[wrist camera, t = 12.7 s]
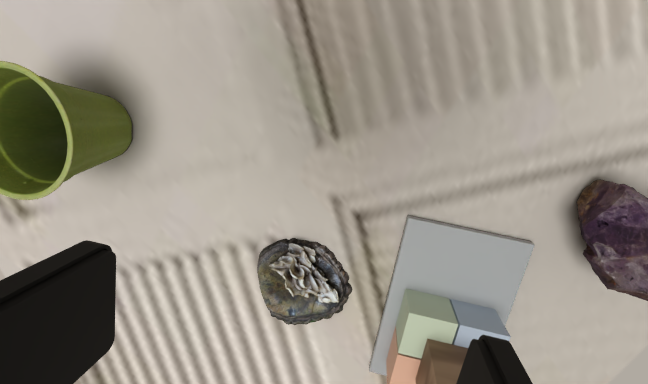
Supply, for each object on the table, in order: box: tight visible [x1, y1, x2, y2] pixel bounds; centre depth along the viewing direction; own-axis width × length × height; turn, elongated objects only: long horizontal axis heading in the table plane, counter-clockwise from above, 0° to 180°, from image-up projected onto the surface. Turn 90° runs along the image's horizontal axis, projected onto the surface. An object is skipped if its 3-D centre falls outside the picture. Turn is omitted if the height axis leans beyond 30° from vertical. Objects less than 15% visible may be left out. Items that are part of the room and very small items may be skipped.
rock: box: [577, 179, 648, 301], centre depth 32 cm, size 12×9×10 cm
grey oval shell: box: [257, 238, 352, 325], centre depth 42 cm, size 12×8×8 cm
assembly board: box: [369, 215, 534, 376], centre depth 40 cm, size 20×13×1 cm, turn 170°
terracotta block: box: [386, 326, 421, 384], centre depth 39 cm, size 5×5×5 cm
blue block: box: [450, 299, 510, 348], centre depth 37 cm, size 5×5×5 cm
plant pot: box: [0, 61, 132, 200], centre depth 36 cm, size 12×12×11 cm
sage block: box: [396, 289, 458, 359], centre depth 38 cm, size 5×5×5 cm
